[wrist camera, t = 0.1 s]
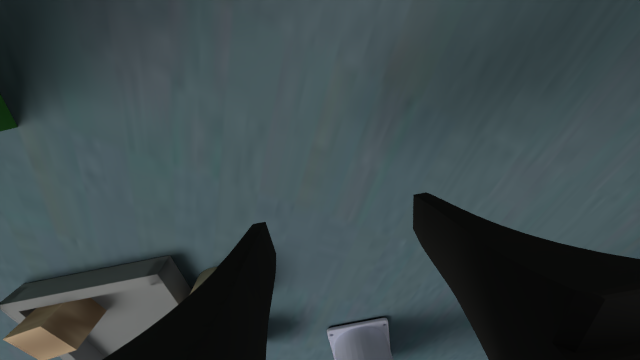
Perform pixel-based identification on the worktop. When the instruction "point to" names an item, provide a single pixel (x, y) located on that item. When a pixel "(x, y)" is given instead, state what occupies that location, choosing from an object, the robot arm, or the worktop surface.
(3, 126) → the hardback book
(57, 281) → the tray
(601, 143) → the worktop surface
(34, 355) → the oak cube
